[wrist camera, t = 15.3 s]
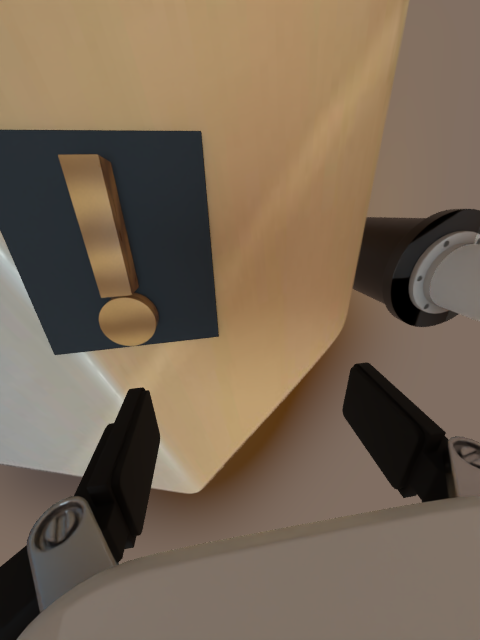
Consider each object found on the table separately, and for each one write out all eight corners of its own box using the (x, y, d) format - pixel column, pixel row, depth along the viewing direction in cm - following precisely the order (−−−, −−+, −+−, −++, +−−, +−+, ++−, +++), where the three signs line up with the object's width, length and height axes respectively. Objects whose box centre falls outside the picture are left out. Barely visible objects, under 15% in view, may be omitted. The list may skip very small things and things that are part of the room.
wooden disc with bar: (58, 162, 21) (36, 154, 18) (127, 161, 22) (117, 153, 19) (112, 340, 29) (103, 354, 26) (162, 335, 30) (158, 348, 27)
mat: (200, 132, 22) (201, 130, 22) (218, 334, 32) (218, 336, 31) (-38, 131, 20) (-45, 129, 19) (57, 352, 29) (54, 355, 28)
